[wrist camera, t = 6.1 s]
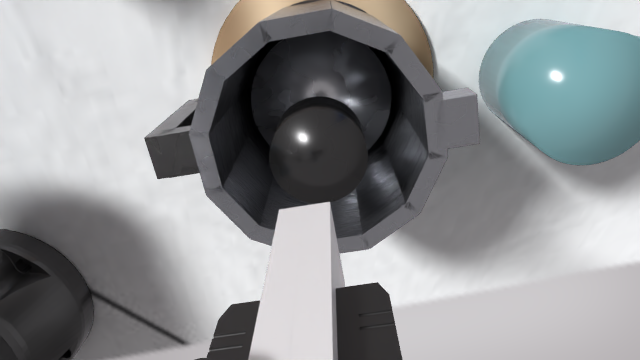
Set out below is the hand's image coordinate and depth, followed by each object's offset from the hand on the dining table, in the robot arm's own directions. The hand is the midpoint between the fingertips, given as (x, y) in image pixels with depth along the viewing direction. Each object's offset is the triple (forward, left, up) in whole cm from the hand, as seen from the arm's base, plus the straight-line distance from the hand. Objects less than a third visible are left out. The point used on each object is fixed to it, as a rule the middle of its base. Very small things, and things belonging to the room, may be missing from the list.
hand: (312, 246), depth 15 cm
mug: (+16, -2, -25) cm, 30 cm away
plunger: (0, 0, -20) cm, 20 cm away
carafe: (0, 0, -25) cm, 25 cm away
